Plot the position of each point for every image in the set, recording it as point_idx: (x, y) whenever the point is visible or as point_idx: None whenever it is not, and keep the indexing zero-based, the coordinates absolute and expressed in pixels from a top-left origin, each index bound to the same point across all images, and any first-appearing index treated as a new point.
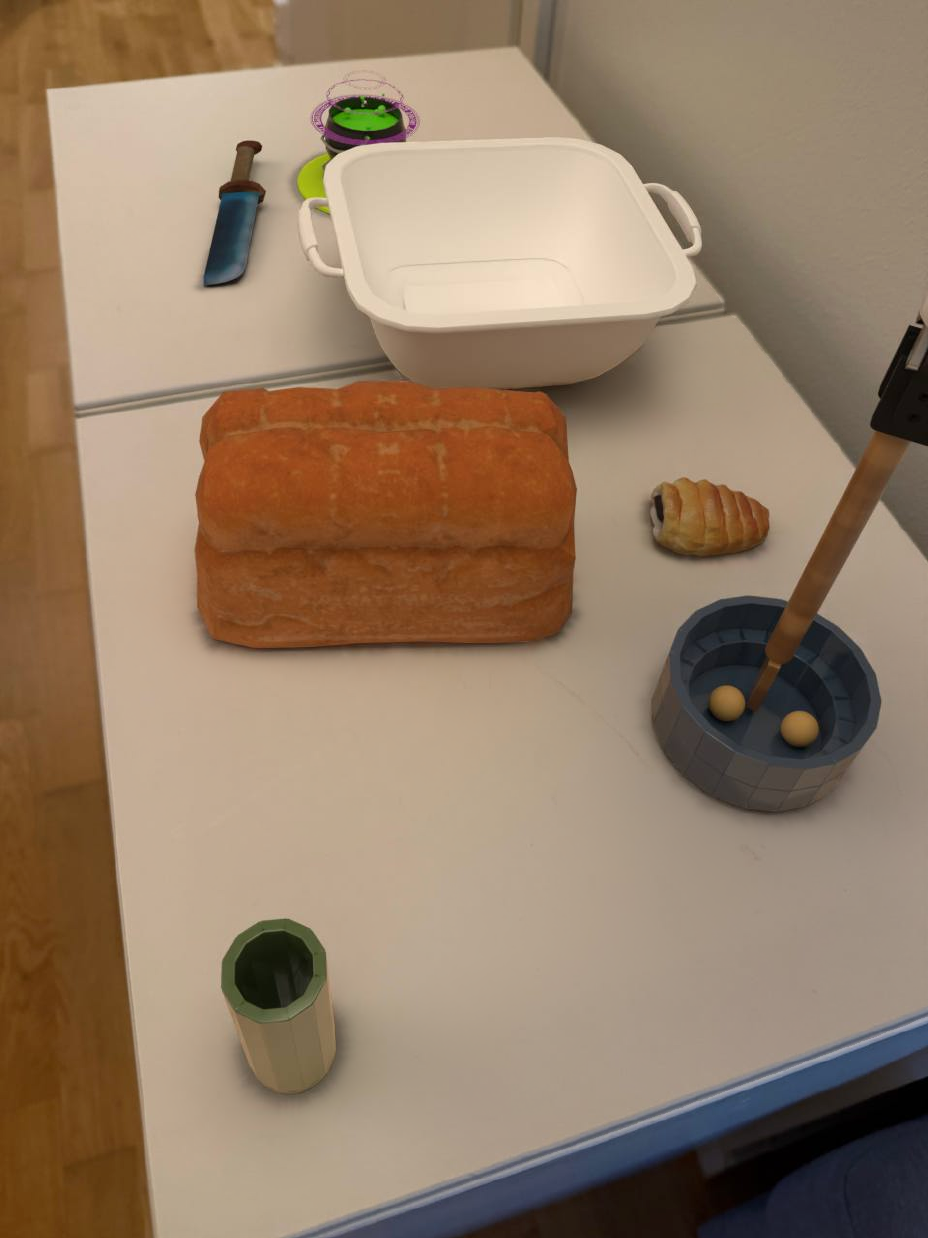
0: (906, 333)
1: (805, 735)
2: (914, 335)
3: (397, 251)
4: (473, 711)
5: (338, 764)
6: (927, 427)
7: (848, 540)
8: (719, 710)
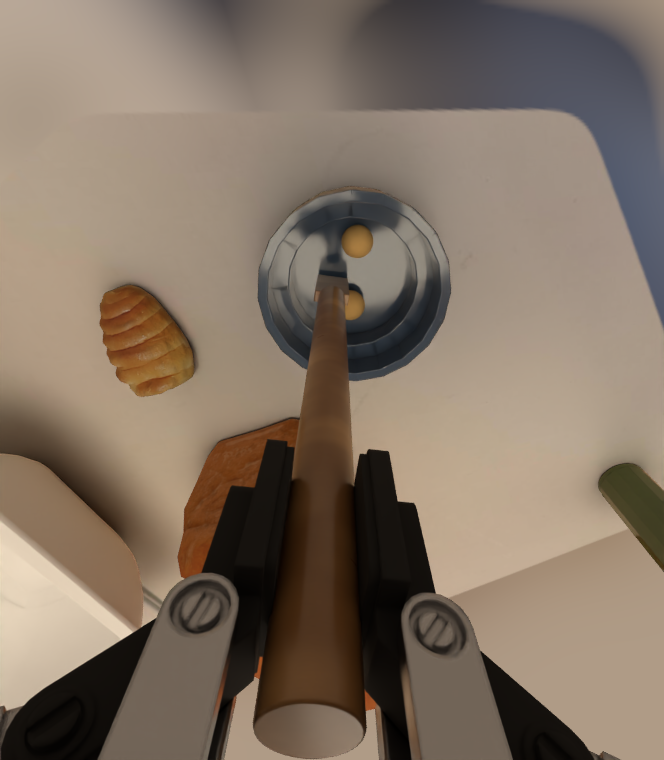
0: (258, 663)
1: (370, 240)
2: (259, 654)
3: (3, 615)
4: (395, 454)
5: (452, 507)
6: (416, 513)
7: (347, 363)
8: (362, 312)
